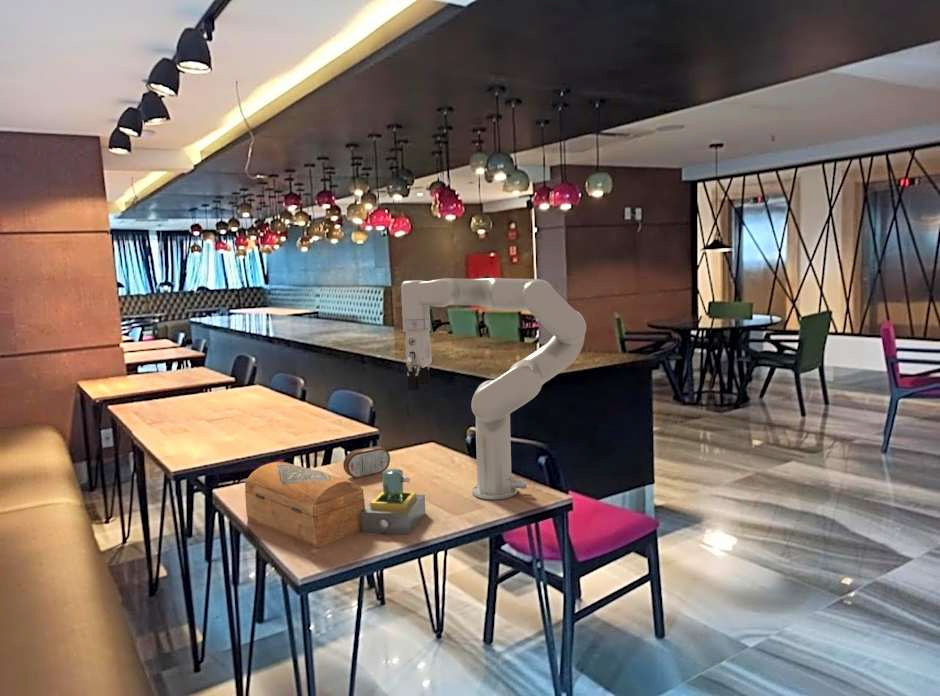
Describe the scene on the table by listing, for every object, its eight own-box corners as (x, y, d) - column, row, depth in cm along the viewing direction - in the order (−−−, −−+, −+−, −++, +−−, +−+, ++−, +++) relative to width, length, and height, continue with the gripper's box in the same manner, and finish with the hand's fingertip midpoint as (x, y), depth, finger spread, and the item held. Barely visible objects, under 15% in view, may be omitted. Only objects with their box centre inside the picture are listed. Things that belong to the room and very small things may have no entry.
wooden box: (370, 528, 170) (367, 473, 168) (315, 550, 158) (311, 491, 156) (300, 503, 190) (297, 454, 188) (246, 520, 178) (242, 468, 176)
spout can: (413, 500, 173) (412, 469, 172) (406, 507, 168) (405, 476, 167) (387, 499, 175) (386, 468, 174) (380, 506, 170) (379, 474, 169)
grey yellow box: (425, 513, 178) (424, 489, 177) (407, 537, 163) (406, 510, 162) (381, 511, 180) (380, 487, 180) (359, 534, 165) (358, 508, 165)
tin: (387, 469, 218) (386, 443, 217) (392, 471, 216) (390, 445, 215) (343, 478, 210) (342, 452, 209) (348, 481, 207) (346, 454, 206)
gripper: (420, 328, 179) (423, 392, 182) (437, 322, 196) (440, 381, 198) (393, 328, 181) (396, 392, 183) (412, 322, 198) (415, 381, 200)
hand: (419, 386), depth 191 cm, fingers open, 9 cm apart
